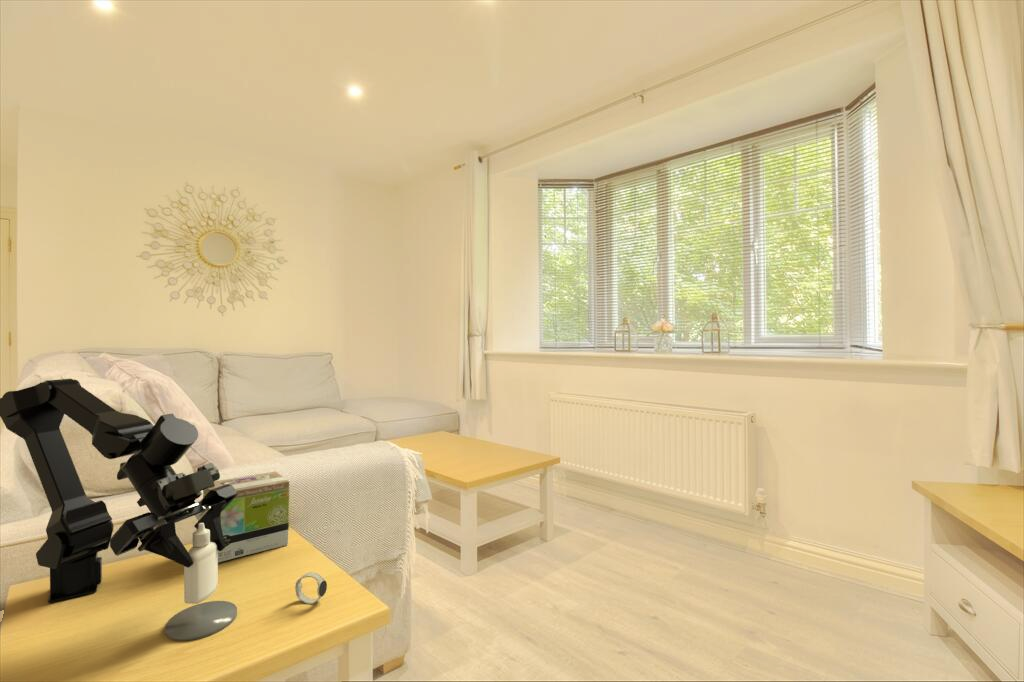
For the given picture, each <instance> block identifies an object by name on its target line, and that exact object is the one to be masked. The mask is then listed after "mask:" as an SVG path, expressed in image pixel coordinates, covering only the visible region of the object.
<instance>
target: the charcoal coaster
mask: <svg viewBox="0 0 1024 682" xmlns="http://www.w3.org/2000/svg"><path fill="white" fill-rule="evenodd" d="M237 616H238V607H237V605H236V604H234V602H230V601H226V600H212V601H206V602H205V601H204V602H200V603H197V604H194V605H191V606H189V607H186V608H184V609H182V610H180V611H178V612H177V613H175V614H174V615H173V616H172V617H170V618H169V619H168V620H167V622H166V624H165V626H164V634H165V637H167V638H168V639H170V640H172V641H180V642H183V641H184V642H186V641H187V642H188V641H195V640H200V639H202V638H205V637H209V636H211V635H214V634H216V633H218V632H220V631H222V630H224V629H226V628H227V627H228V626H230V625H231V624H232V623H233V622H234V621H235V619H236V618H237Z"/></svg>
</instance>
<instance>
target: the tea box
mask: <svg viewBox="0 0 1024 682" xmlns="http://www.w3.org/2000/svg"><path fill="white" fill-rule="evenodd" d="M214 484H215V486H214V487H212V488H206V489H204V490H202V499H203V498H204V497H205V495H206V494H207V493H208V492H209V491H210V490H212V489H215V488H218V487H220V486H223V485H226V484H227V485H232V486H233V487H234V489H235V490H236V491H237V493H238V495H237V496H236V497H235V498H234V499H233V500H232V501H231V502H230V503H229V505H228V506H227V507H226V508H225V509H224V510H223V511H222V512H221V515H220V518H221V527H222V532H223V538H224V543H225V548H224V549H223V550H222V551H219V550H218V564H219V563H222V562H225V561H229V560H233V559H236V558H240V557H244V556H247V555H248V556H249V555H253V554H256V553H260V552H265V551H268V550H274V549H277V548H282V547H286V546H287V545H289V531H290V530H289V529H290V480H288V479H286V478H285V476H282V475H281V474H280V473H278V472H277V471H269V472H266V473H265V472H264V473H258V474H253V475H245V476H240V477H233V478H228V479H222V480H221V479H219V480H216V481H214Z"/></svg>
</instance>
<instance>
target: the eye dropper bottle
mask: <svg viewBox="0 0 1024 682" xmlns="http://www.w3.org/2000/svg"><path fill="white" fill-rule="evenodd" d="M187 551H188V553H189V554H190V556H191V558H192V561H193V565H192V566H191V567H189V568H187V567H185V566H183V574H184V575H183V590H184V591H183V592H184V593H183V601H184V604H190V605H191V604H192V605H193V604H194V605H197V604H200V603H203V602H205V600H207V599H208V598H210V597H211V596H212V595H213V594H214V593H215V592H216V590H217V589H218V586H219V585H218V584H219V583H218V582H219V579H218V578H219V577H218V575H219V573H218V572H219V571H218V570H219V567H218V566H219V563H218V550H217V544H216V543H214V542H210V530H209V529H205V526H204V523H199V525H198V529H196V530H194V531H193V532H192V547H190V549H189V550H187Z"/></svg>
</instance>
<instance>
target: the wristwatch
mask: <svg viewBox="0 0 1024 682" xmlns="http://www.w3.org/2000/svg"><path fill="white" fill-rule="evenodd" d="M304 578H313V579H315V581H317V582H316V583H317V589H316V590H317V591H316V592H317V593H316V594H317V596H318V597H317V598H310V597H309V596H307V595H305V594H304V592H303V590H302V589H303V583H302V579H304ZM294 588H295V595H296V598H298V600H299V601H301V602H303V603H305V604H307V605H313V604H316V603H317V602H319V601H320V599H321V598H323V597H324V595H326V593H327V592H326V591H327V589H328V583H327V581H326V580H325V578H324V577H323V576H322V575H321V574H320V573H318V572H315V571H314V572H313V571H311V572H307V573H305V574H303V575H302V576H301V577H300V578H298V579H297V580H296V582H295V585H294Z"/></svg>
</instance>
